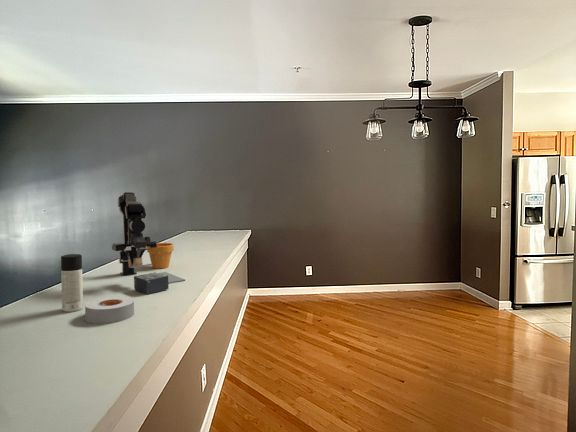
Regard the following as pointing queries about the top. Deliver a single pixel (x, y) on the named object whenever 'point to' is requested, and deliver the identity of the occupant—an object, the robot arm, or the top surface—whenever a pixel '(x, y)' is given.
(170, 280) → the mat
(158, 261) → the flower pot
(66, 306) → the spray can
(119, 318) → the tape roll
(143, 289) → the small box
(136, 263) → the turner
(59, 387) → the top surface
